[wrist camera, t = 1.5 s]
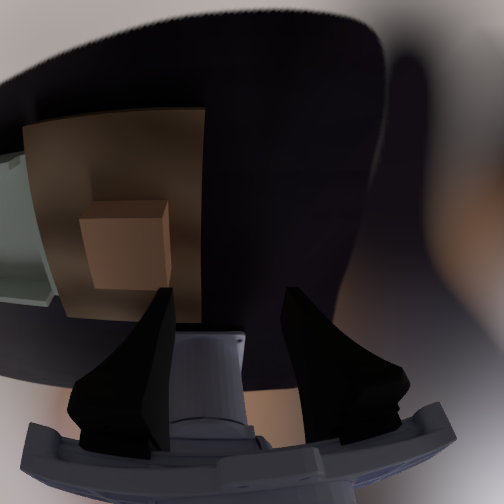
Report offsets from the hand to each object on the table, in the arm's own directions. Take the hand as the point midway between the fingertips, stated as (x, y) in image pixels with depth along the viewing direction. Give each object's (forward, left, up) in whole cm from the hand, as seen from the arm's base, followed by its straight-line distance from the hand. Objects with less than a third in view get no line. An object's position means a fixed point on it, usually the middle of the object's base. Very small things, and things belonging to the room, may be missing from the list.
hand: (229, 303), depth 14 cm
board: (0, +8, -8) cm, 11 cm away
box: (0, +19, -8) cm, 21 cm away
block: (0, +6, -6) cm, 9 cm away
